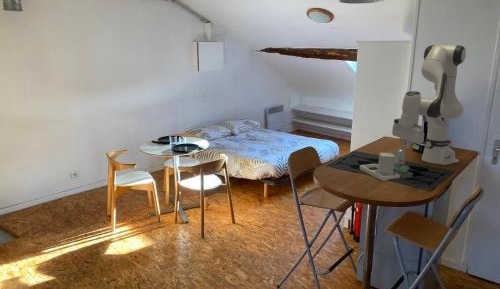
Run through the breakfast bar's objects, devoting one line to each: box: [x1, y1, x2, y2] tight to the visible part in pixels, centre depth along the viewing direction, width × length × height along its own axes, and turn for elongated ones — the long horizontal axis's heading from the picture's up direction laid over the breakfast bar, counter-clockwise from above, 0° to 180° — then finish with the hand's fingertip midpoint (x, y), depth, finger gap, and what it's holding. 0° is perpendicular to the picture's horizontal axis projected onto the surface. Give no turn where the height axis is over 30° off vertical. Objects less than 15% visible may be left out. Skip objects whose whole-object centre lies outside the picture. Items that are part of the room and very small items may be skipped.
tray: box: [394, 163, 410, 171], centre depth 227 cm, size 8×8×2 cm
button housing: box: [394, 170, 414, 180], centre depth 213 cm, size 7×7×3 cm
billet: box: [394, 148, 407, 168], centre depth 226 cm, size 5×5×11 cm
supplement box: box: [377, 152, 396, 176], centre depth 212 cm, size 7×7×13 cm
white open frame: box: [359, 163, 401, 182], centre depth 218 cm, size 21×11×2 cm, turn 20°
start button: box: [399, 165, 409, 174], centre depth 213 cm, size 4×4×4 cm
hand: (405, 147), depth 209 cm, fingers closed
